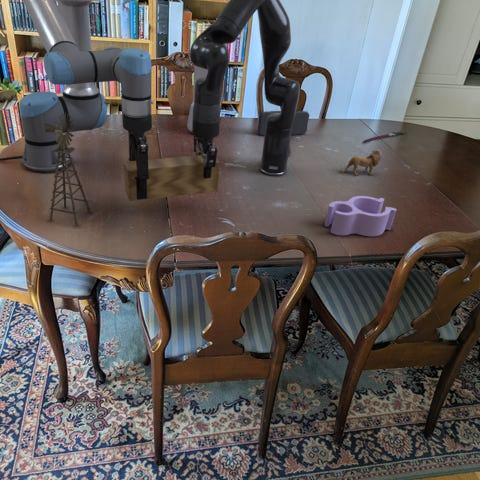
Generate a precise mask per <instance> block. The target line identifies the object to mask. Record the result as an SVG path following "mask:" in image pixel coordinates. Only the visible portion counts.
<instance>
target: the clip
mask: <svg viewBox="0 0 480 480" xmlns="http://www.w3.org/2000/svg"><path fill="white" fill-rule="evenodd" d="M384 201H385V198H383V197H379V198H376V197H373V196H368V195H357V196H352V197H350V198H349V200H347V201H339V200H338V201H337V200H335V201H332V202H330V203H329V205H328V208H327V214H326V218H325V222H324V227H326V228H329V227H330V226H331V227H330V233H331V234H333V235H336V236H348V235H353V234H356V235H360V236H364V237H365V236H366V237H378V236H381V235H382V234H384V232H385V230H387V231H391V229H392V226H393V222H394V219H395V216H396V213H397V210H398V209H397V208H395V207H391V206H385V207H384V211H383V212H382V209H383V206H384Z"/></svg>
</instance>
